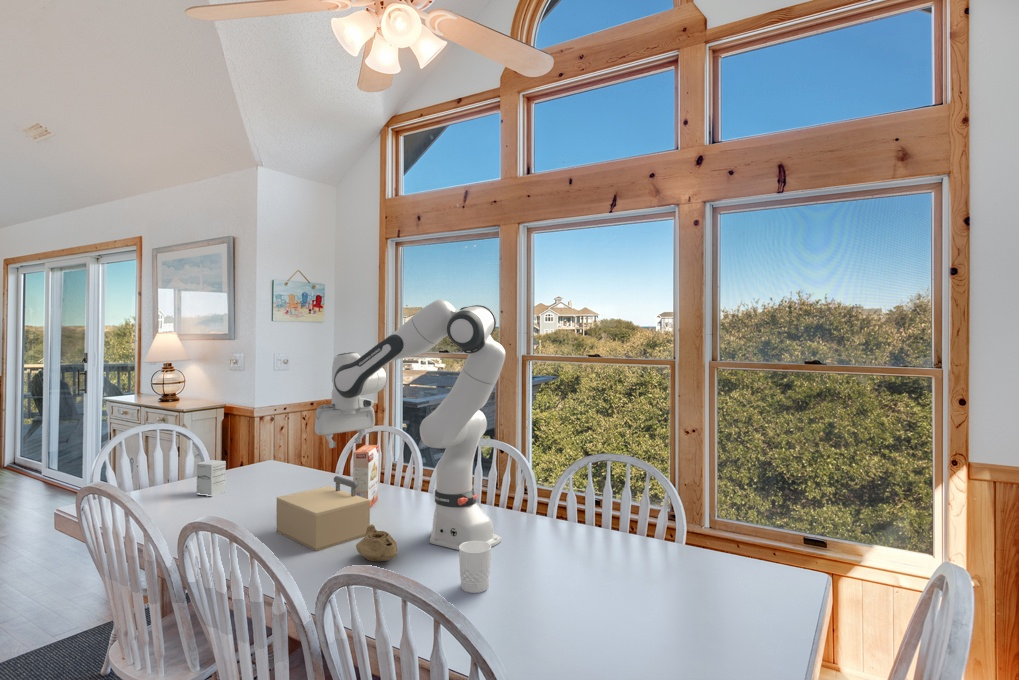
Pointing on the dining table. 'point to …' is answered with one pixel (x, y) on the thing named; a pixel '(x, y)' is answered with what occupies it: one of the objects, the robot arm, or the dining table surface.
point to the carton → (322, 525)
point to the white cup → (474, 566)
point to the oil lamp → (377, 545)
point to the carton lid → (325, 498)
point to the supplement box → (211, 477)
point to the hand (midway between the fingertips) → (345, 445)
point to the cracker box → (366, 472)
